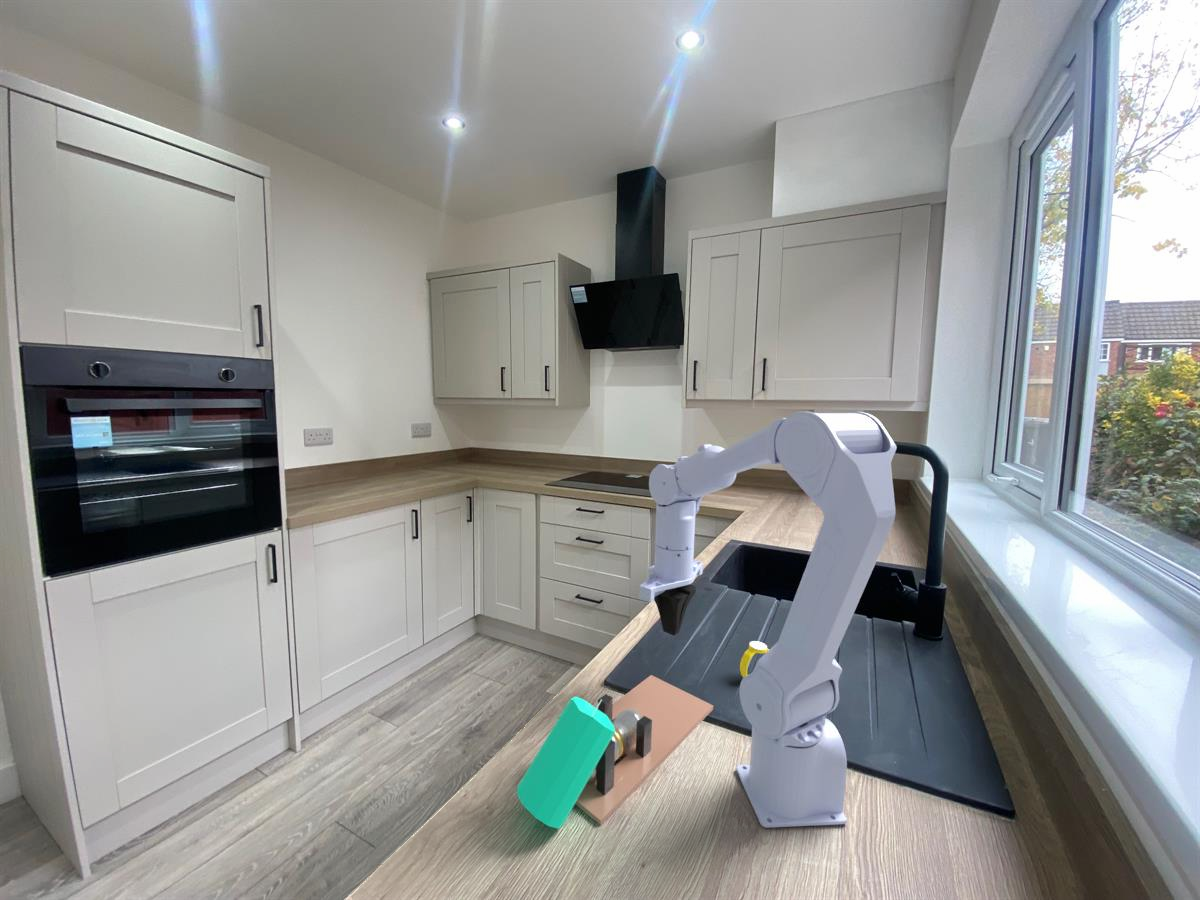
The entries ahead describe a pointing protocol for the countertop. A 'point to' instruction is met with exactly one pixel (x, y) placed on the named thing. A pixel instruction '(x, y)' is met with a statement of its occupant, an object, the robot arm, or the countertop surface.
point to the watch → (753, 648)
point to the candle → (565, 762)
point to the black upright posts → (607, 760)
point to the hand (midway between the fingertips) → (670, 631)
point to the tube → (622, 734)
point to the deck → (670, 727)
